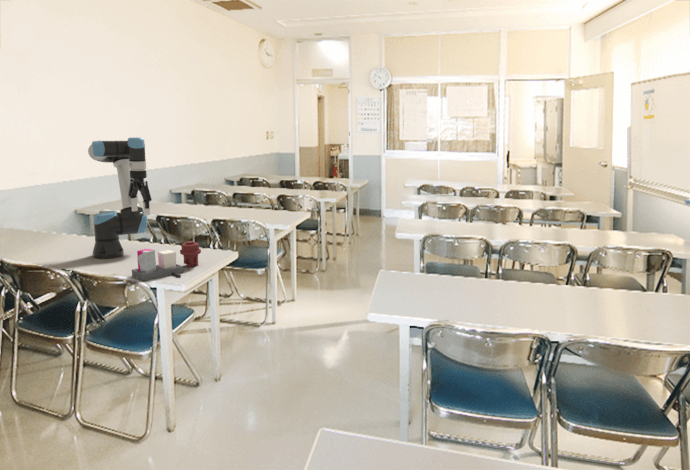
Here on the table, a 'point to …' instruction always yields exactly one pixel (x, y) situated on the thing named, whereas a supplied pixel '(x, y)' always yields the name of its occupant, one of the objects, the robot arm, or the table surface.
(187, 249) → the mechanical component
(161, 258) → the grey double recess tray
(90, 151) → the robot arm
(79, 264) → the table surface
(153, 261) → the supplement box
